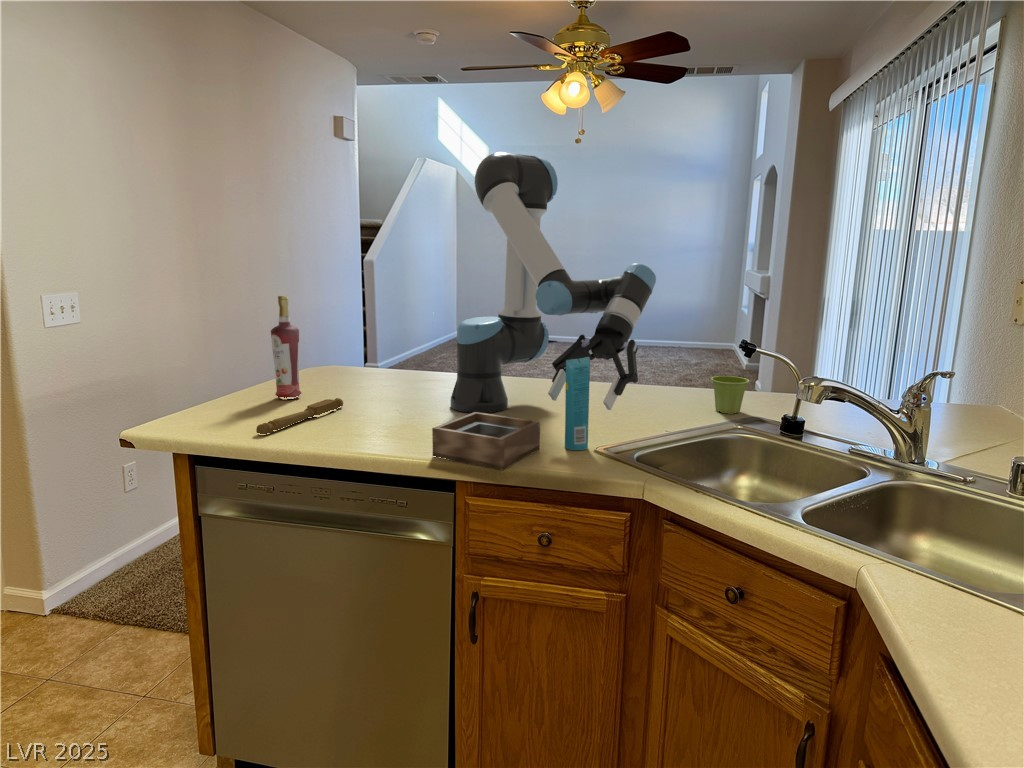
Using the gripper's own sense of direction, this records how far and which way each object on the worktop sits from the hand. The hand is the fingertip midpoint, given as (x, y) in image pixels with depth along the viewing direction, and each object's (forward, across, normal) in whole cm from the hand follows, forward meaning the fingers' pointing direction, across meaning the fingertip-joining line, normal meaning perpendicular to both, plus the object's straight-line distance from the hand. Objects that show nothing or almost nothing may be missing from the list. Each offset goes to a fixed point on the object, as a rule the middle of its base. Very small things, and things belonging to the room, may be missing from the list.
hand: (578, 401), depth 141 cm
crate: (+17, +12, +3) cm, 22 cm away
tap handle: (+24, +63, +9) cm, 68 cm away
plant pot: (-31, -12, -46) cm, 57 cm away
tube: (+7, +1, -8) cm, 11 cm away
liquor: (+15, +87, +1) cm, 88 cm away
